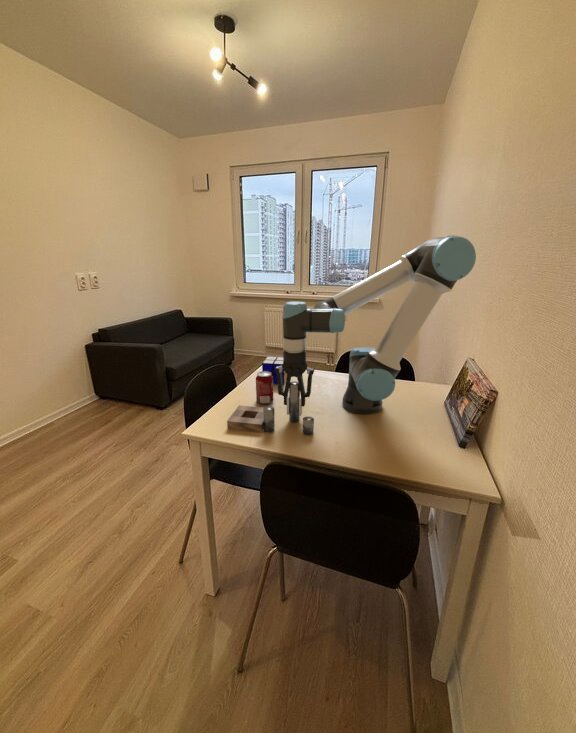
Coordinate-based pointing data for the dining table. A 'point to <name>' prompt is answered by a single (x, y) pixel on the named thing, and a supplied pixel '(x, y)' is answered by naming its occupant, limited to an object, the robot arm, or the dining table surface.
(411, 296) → the robot arm
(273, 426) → the medium pin
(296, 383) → the long pin
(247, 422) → the hole block
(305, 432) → the short pin
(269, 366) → the puzzle cube
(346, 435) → the dining table surface
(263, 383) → the soda can
